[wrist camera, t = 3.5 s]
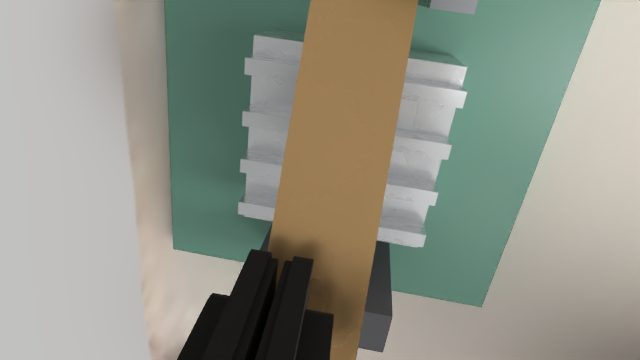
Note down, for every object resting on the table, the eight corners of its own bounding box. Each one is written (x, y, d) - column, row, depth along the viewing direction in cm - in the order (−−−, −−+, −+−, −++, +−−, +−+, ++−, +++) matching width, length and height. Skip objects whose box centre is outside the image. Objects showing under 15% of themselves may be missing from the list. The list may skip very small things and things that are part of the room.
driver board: (611, -60, 16) (764, -95, 10) (477, 295, 24) (513, 404, 17) (171, -116, 17) (49, -180, 11) (180, 239, 25) (113, 323, 18)
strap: (420, -31, 12) (433, -69, 10) (342, 419, 12) (341, 462, 11) (323, -44, 13) (319, -84, 11) (247, 399, 13) (229, 438, 11)
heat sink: (482, -56, 16) (544, -86, 10) (412, 214, 21) (425, 300, 15) (280, -83, 16) (224, -126, 10) (261, 188, 21) (216, 261, 16)
